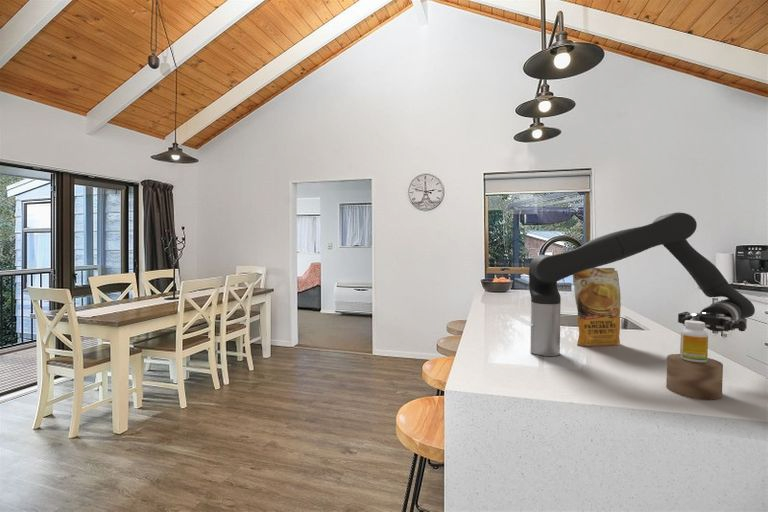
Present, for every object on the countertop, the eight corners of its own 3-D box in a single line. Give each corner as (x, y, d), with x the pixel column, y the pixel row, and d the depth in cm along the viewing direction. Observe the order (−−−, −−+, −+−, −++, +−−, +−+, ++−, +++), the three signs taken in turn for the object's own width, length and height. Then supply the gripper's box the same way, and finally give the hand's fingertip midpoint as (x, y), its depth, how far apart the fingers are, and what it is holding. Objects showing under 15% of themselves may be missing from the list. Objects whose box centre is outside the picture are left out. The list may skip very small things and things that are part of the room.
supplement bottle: (712, 363, 94) (713, 324, 94) (686, 362, 96) (687, 323, 95) (700, 357, 100) (701, 320, 99) (675, 356, 101) (677, 319, 101)
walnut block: (674, 396, 95) (675, 364, 94) (660, 381, 105) (661, 352, 105) (730, 403, 91) (731, 369, 90) (710, 386, 101) (711, 356, 101)
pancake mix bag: (566, 342, 144) (567, 267, 143) (615, 340, 146) (616, 266, 145) (577, 347, 138) (578, 268, 136) (627, 345, 139) (629, 268, 138)
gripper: (689, 300, 119) (672, 307, 108) (753, 307, 108) (741, 314, 97) (688, 325, 119) (672, 333, 109) (752, 333, 108) (740, 344, 98)
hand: (704, 324), depth 103 cm, fingers open, 8 cm apart
